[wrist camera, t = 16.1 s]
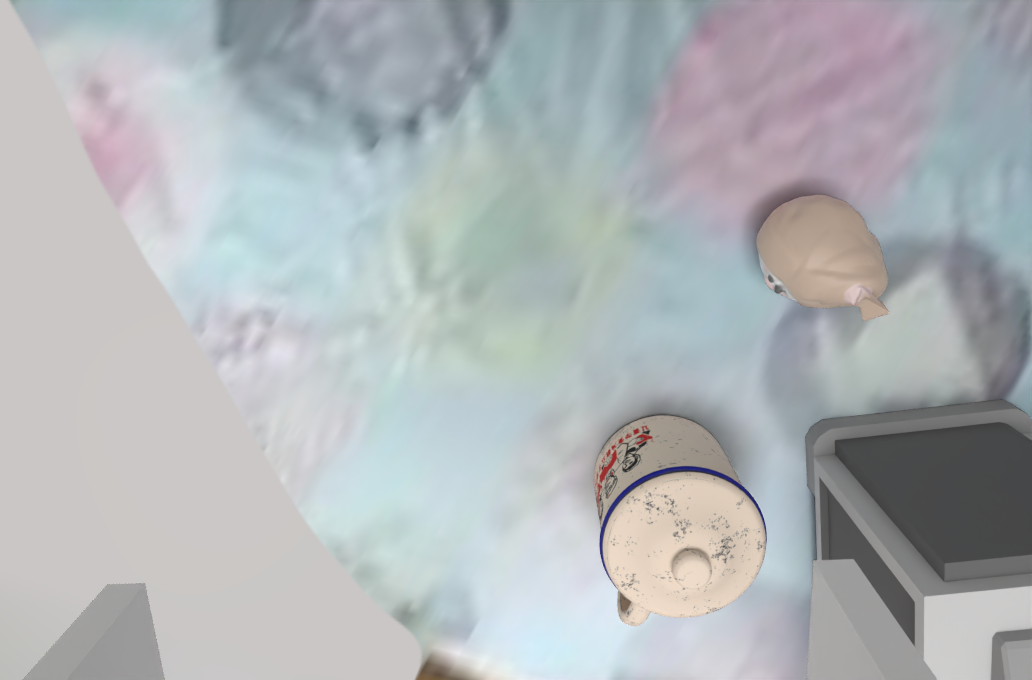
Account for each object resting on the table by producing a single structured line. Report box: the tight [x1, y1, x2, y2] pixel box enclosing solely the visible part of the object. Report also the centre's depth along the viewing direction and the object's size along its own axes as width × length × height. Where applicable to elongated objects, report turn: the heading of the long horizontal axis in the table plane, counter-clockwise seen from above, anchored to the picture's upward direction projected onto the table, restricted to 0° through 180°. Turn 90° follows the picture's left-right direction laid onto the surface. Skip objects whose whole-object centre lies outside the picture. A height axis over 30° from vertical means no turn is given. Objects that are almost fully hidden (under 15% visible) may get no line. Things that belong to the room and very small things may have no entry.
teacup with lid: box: [594, 415, 767, 626], centre depth 48 cm, size 12×9×12 cm
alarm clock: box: [805, 400, 1032, 680], centre depth 45 cm, size 18×13×18 cm
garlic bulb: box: [756, 195, 889, 321], centre depth 45 cm, size 7×6×8 cm
